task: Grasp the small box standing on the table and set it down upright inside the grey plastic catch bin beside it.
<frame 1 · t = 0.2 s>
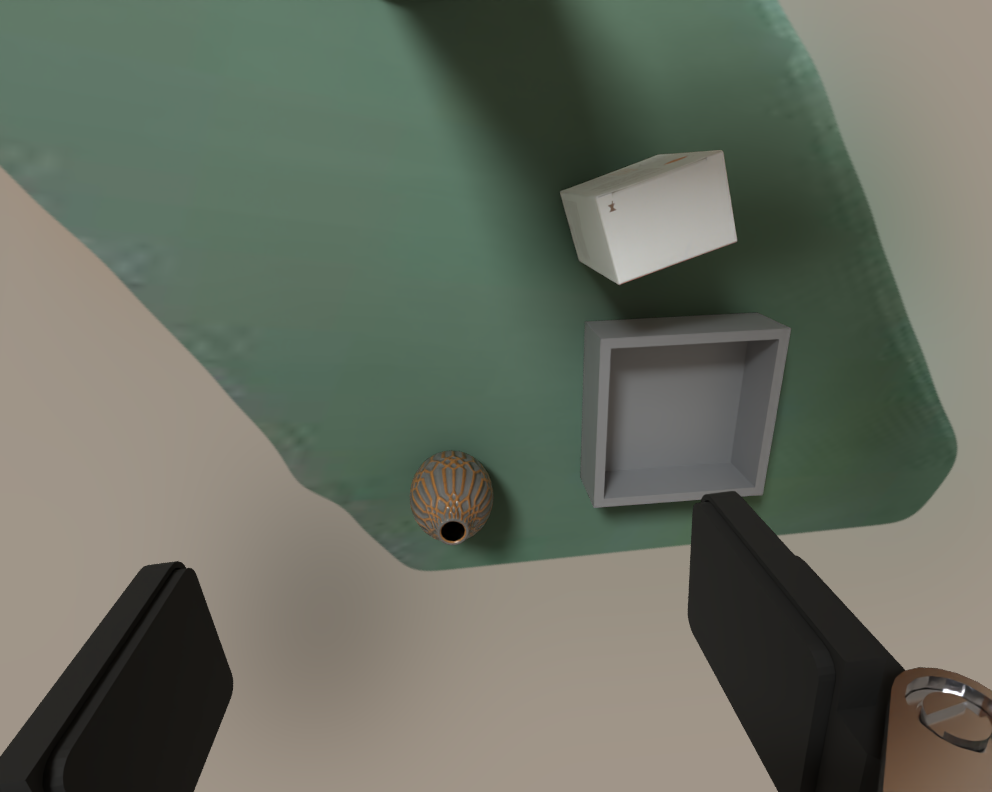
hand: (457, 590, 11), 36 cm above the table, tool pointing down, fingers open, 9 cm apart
catch bin: (664, 398, 50), on the table
small box: (616, 208, 44), on the table
vase: (451, 472, 51), on the table
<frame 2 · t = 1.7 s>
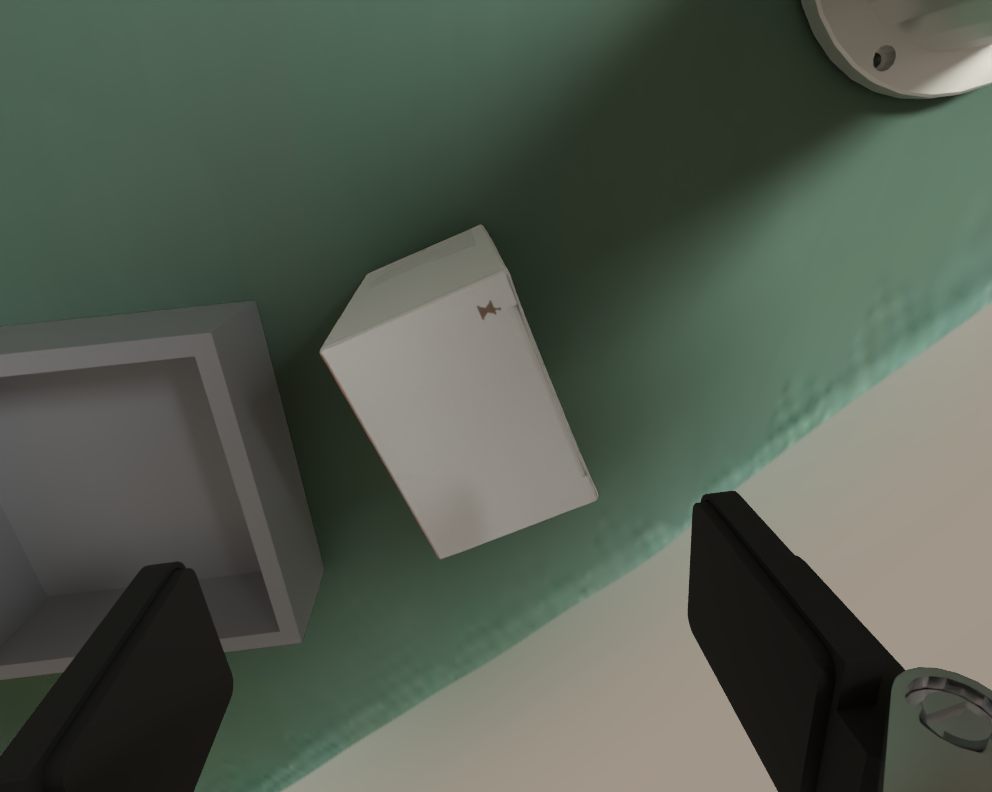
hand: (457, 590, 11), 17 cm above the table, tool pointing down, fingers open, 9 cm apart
catch bin: (140, 465, 27), on the table
small box: (461, 328, 26), on the table
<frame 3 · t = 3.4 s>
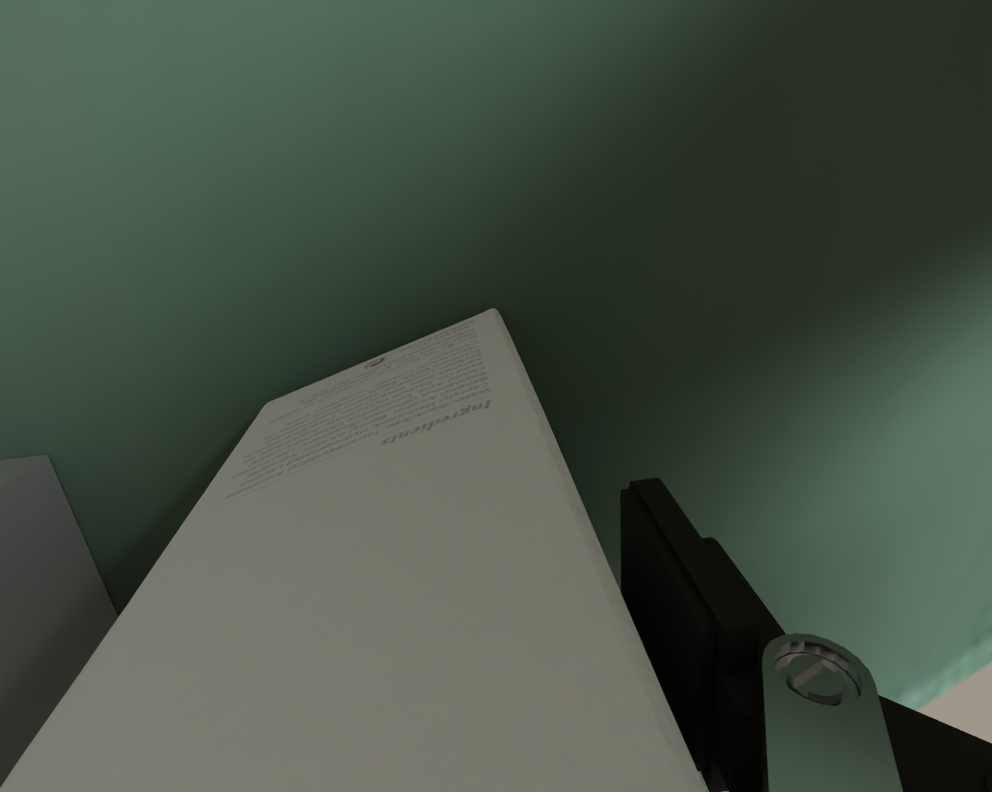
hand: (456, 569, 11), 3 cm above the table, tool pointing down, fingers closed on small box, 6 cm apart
small box: (453, 489, 14), on the table, touching gripper
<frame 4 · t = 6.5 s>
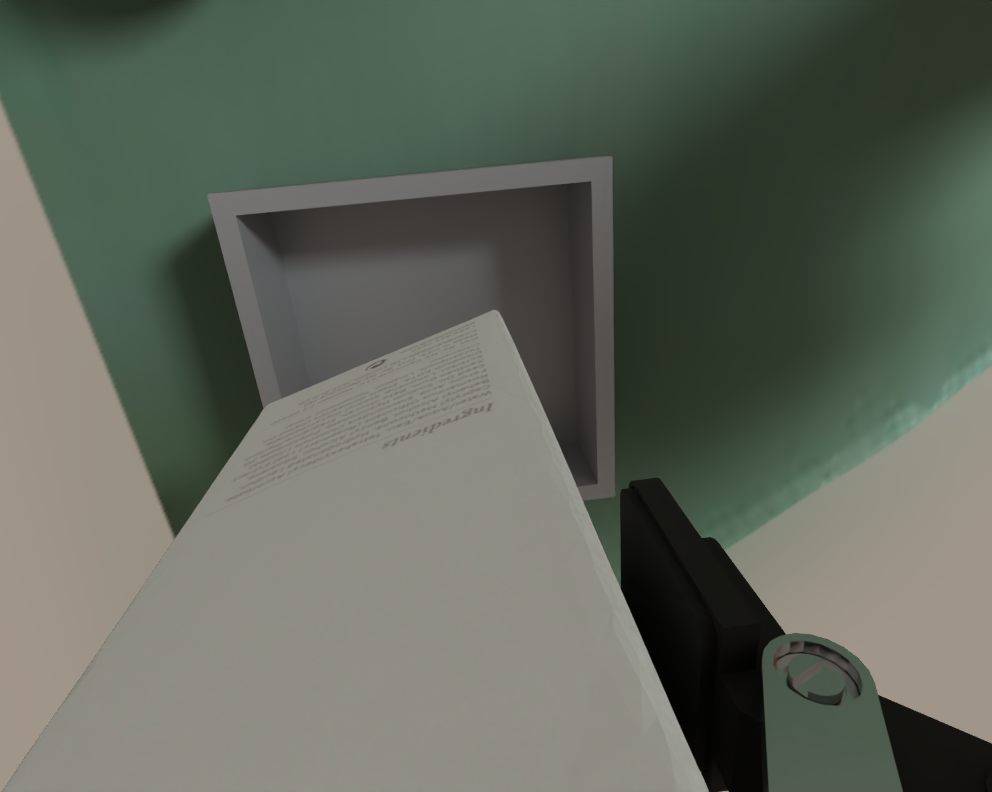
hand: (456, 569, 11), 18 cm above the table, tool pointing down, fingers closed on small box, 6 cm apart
catch bin: (439, 332, 28), on the table
small box: (454, 491, 14), point 15 cm above the table, touching gripper
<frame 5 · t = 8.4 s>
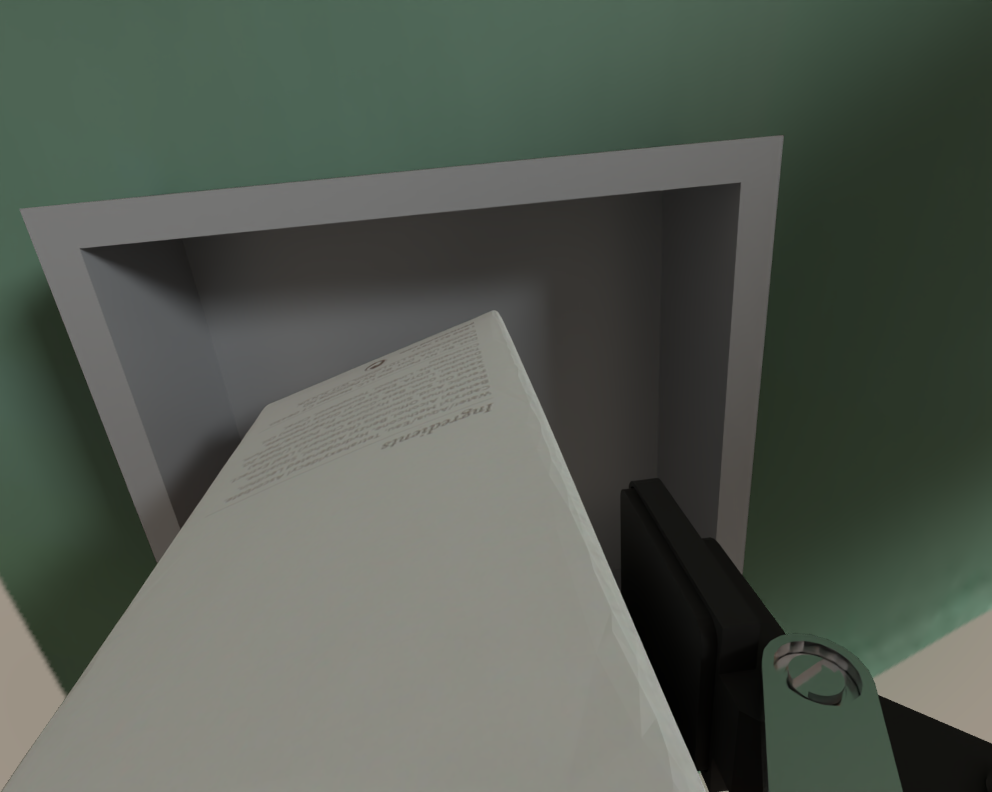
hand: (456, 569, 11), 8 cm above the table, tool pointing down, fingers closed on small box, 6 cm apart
catch bin: (453, 413, 18), on the table
small box: (453, 491, 14), point 5 cm above the table, touching gripper
when the fingers open (5 cm above the table, at t = 9.9 s): small box drops 2 cm, resting on catch bin.
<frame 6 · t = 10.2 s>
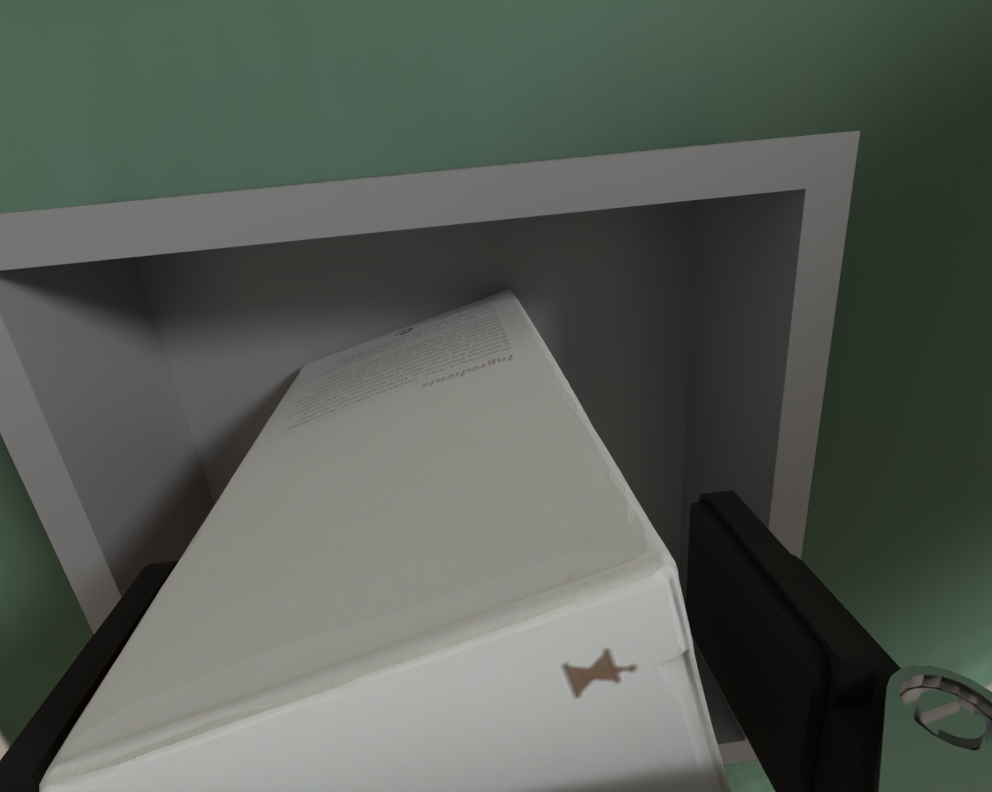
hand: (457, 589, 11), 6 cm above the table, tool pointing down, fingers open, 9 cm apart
catch bin: (451, 449, 16), on the table
small box: (463, 452, 16), resting on catch bin
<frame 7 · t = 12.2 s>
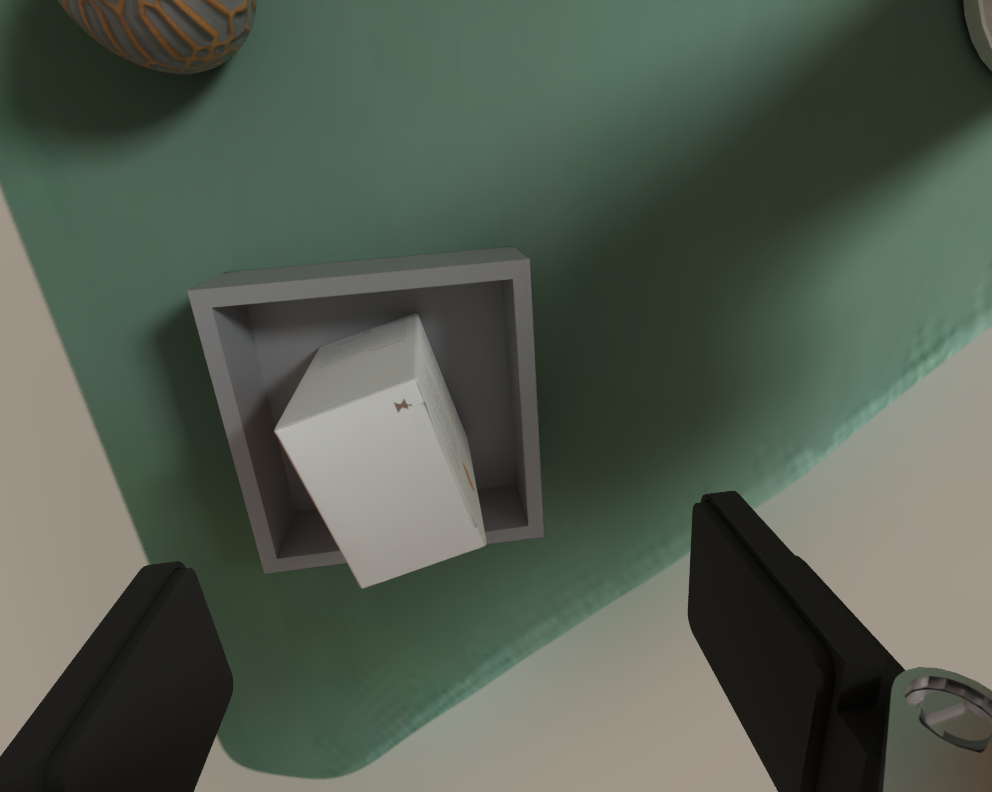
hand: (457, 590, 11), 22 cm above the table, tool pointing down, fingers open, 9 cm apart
catch bin: (392, 391, 32), on the table
small box: (397, 392, 31), resting on catch bin
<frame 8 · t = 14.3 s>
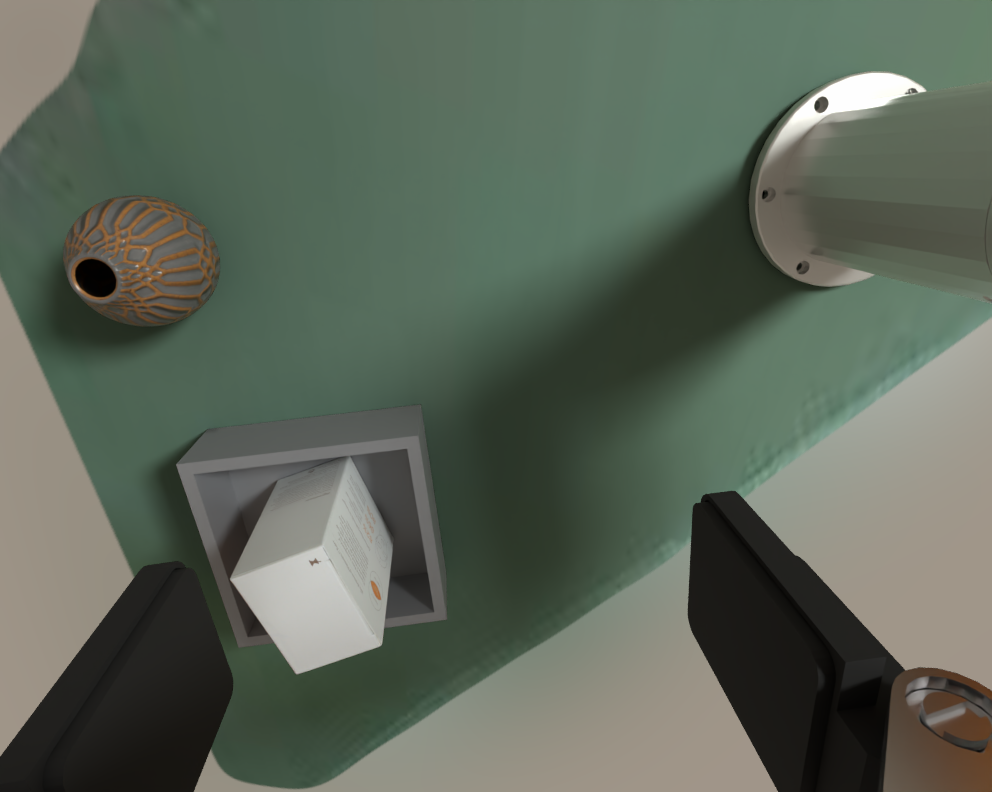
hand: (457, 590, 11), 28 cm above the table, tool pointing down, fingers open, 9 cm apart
catch bin: (335, 506, 42), on the table
small box: (339, 508, 42), resting on catch bin
vase: (177, 252, 35), on the table
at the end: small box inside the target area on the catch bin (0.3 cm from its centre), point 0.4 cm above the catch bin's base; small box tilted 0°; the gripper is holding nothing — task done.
